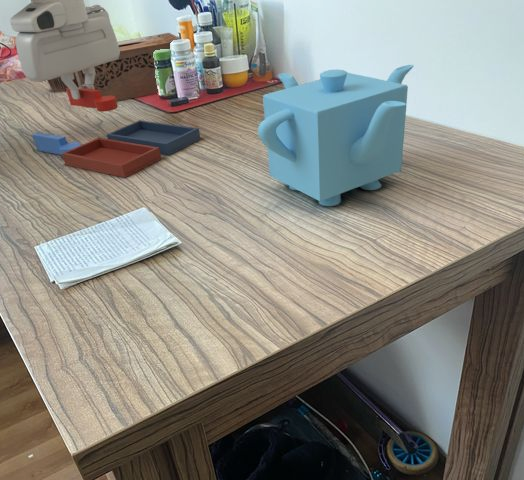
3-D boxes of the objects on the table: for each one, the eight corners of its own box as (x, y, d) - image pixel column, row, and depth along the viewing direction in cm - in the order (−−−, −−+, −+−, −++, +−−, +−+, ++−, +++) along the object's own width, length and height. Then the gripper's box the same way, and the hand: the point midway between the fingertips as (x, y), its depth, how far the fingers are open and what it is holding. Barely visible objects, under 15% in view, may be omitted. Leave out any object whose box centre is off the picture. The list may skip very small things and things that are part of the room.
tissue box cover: (177, 75, 138) (169, 32, 131) (191, 86, 127) (183, 39, 121) (81, 94, 132) (67, 50, 125) (87, 106, 121) (73, 59, 115)
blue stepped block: (32, 152, 98) (25, 136, 97) (49, 145, 101) (43, 129, 99) (71, 160, 92) (66, 144, 91) (89, 153, 95) (83, 136, 93)
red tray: (65, 164, 91) (61, 153, 90) (102, 148, 96) (99, 137, 95) (125, 177, 83) (121, 165, 82) (161, 159, 89) (159, 147, 87)
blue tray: (109, 145, 97) (106, 134, 96) (141, 130, 102) (139, 120, 101) (168, 155, 90) (166, 143, 88) (200, 139, 95) (199, 128, 93)
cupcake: (91, 83, 141) (79, 41, 134) (68, 93, 134) (54, 49, 128) (65, 83, 144) (52, 42, 138) (41, 92, 138) (26, 50, 132)
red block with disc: (65, 106, 102) (60, 90, 100) (81, 101, 104) (76, 85, 102) (106, 112, 96) (101, 95, 94) (122, 106, 98) (118, 89, 96)
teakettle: (258, 214, 68) (245, 95, 59) (283, 161, 82) (276, 58, 72) (404, 215, 64) (415, 87, 55) (405, 159, 78) (415, 49, 68)
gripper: (94, 3, 98) (113, 82, 107) (0, 21, 86) (31, 109, 95) (116, 2, 95) (134, 84, 104) (22, 22, 83) (52, 112, 92)
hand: (84, 96), depth 100 cm, fingers closed on red block with disc
